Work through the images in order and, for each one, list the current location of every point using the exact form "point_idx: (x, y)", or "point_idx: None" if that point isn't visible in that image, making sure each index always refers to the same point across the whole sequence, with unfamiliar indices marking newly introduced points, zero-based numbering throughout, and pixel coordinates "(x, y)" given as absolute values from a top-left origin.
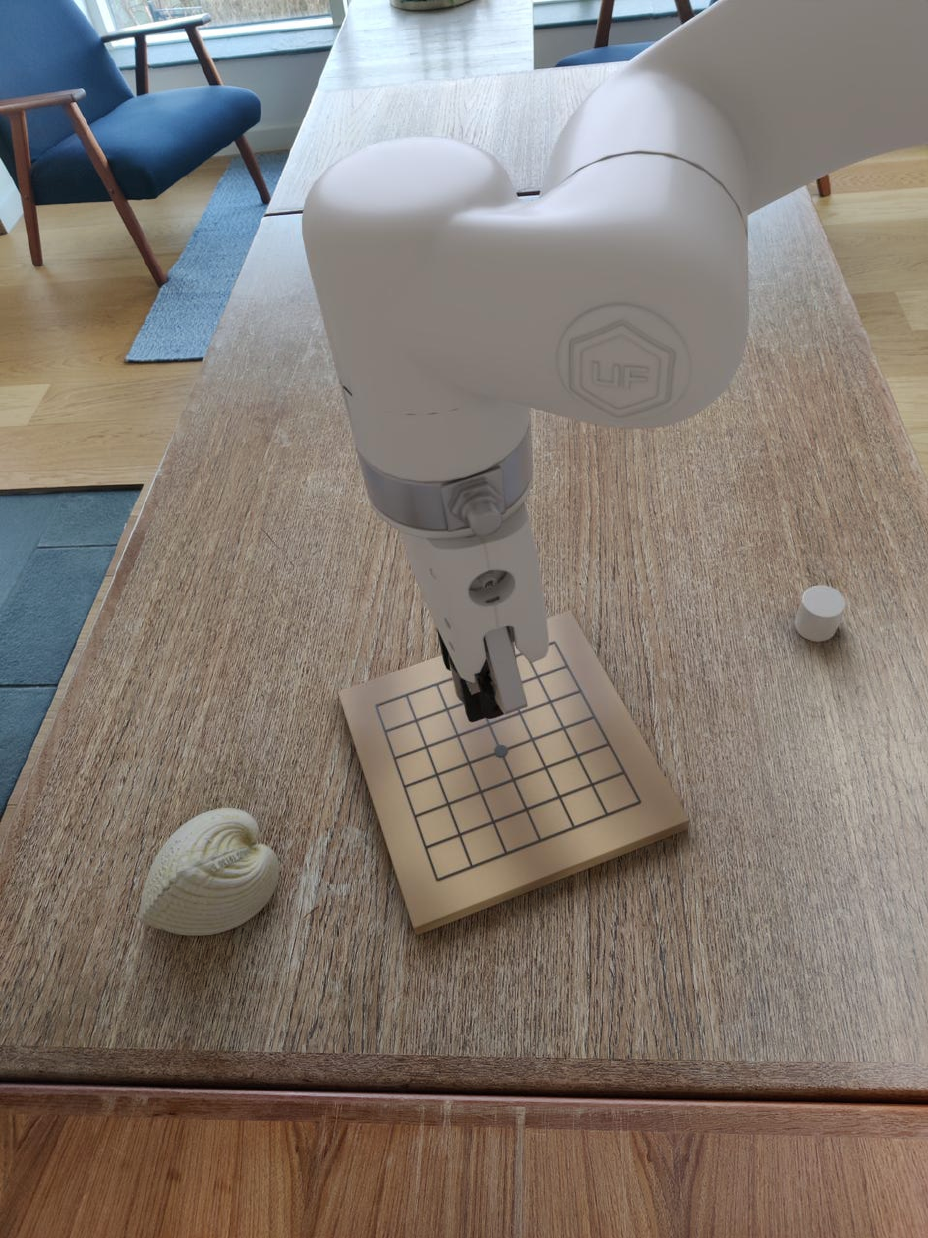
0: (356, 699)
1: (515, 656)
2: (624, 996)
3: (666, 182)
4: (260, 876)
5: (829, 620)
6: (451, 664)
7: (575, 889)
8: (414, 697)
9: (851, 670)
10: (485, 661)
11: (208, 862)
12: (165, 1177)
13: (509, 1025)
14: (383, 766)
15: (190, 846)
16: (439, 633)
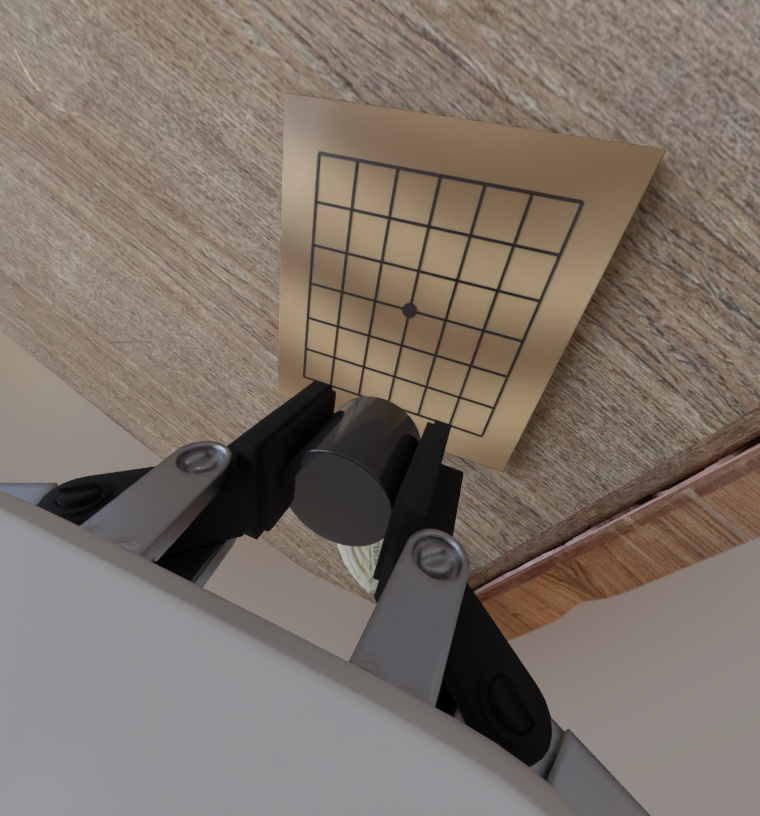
0: (291, 385)
1: (445, 659)
2: (716, 367)
3: None
4: None
5: None
6: (330, 539)
7: (583, 334)
8: (311, 344)
9: None
10: (358, 501)
11: (372, 573)
12: (513, 617)
13: (626, 457)
14: None
15: (354, 574)
16: (258, 535)
